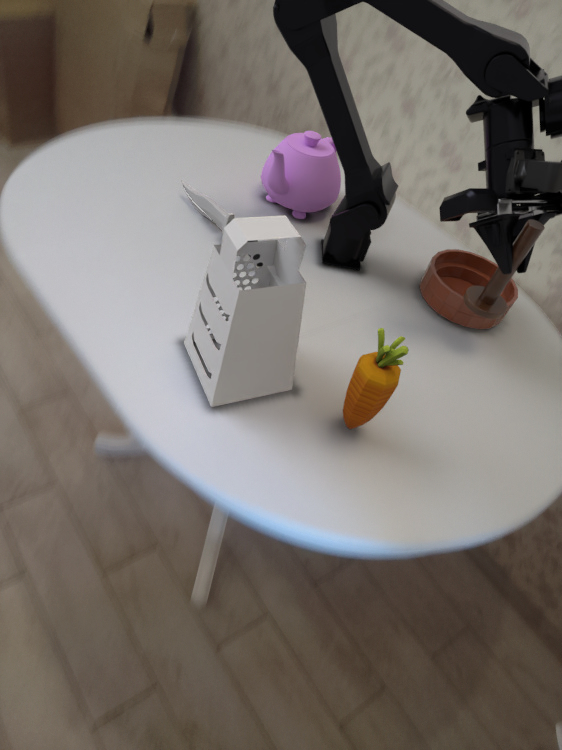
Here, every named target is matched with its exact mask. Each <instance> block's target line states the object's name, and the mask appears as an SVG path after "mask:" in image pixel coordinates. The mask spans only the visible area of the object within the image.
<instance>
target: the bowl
mask: <svg viewBox="0 0 562 750" xmlns="http://www.w3.org/2000/svg"><path fill="white" fill-rule="evenodd" d="M497 268H498V265H497V263H496V262H494V261H492V260H490V259H488V258H487V257H485V256H483V255H481V254H477V253H476V252H473V251H468V250H464V249H456V248H454V249H450V248H449V249H448V248H447V249H444V250H439V251H437V252H436V253H435V254H434V255H433V256H432V257H431V259H430V260H429V263H428V264H427V267H426V268H425V270H424V272H423V274H422V277H421V278H420V282H419V290H420V293H421V296H422V298H423V299H424V301H425V302H426V304H427V305H428V306H429V307H430V308H431V309H433V311H435V312H436V313H437V314H438V315H440V316H441V317H443V318H444V319H447V320H448V321H450V322H452V323H454V324H457V325H460V326H462V327H465V328H470V329H475V330H485V329H486V330H487V329H488V330H489V329H492V328H494V327H496V326H498V325H500V324H501V322H502V321H503V320H504V319H505V316H506V315H507V314H508V312H509V311H510V310H511V309H512V307H513V306H514V304H515V303H516V301H517V300H518V298H519V289H518V286H517V284H516V281H515V280H514V279H513V277H512V278H511V279H510V281H509V282H508V284H507V285H506V287H505V288H504V289H503V291H502V292H501V294H500V296H502V297H503V299H504V300H505V301H506V303H507V311H506V312H505V313H504V315H503V316H502V317H501V318H499V319H487V318H484V317H481V316H479V315H477V314H475V313H474V312H472V311H471V310H470V309H469V308H468V307H467V306H466V304H465V303H464V300H463V296H464V294H465V292H466V290H467V289H468V288H469V287H471V286H483V287H485V286H486V285H487V283H488V282H489V280H490V279H491V277H492V275H493V274H494V272H495V271H496V269H497Z"/></svg>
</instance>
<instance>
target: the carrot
mask: <svg viewBox="0 0 562 750" xmlns="http://www.w3.org/2000/svg"><path fill="white" fill-rule="evenodd" d="M385 335H386V333H385V328H384V327H380V328H378V329H377V337H378V338H377V351H373V352H369V353H364V354H362V355H361V356H359V358H358V361H357V362H356V365H355V367H354V370H353V372H352V375H351V377H350V380H349V383H348V386H347V389H346V392H345V397H344V400H343V407H342V418H343V421H344V424H345V427H346V428H347V429H350V430H353V429H356V428H359V427H362V426H364V425H365V424H367V423H369V422H370V421H371V420H372V419H374V418H375V417H376V416H377V415H378V414H379V413H380V412H381V411H382V410H383V409H384V407H385V406H386V405H387V403H388V401H389V400H390V398H391V397H392V395H393V394H394V392H395V391H396V389H397V388H398V386H399V382H400V377H401V372H402V369H401V367H400V366H404V360H402V359H401V358H403V357H405V356H406V355H408V353H409V348H408V346H407V345H401V344H402V343H403V342H404V341H405V340H406V337H405V336H402V335H400V336H398V337H397V338H396V339H394V341H393V342H392V343H391V344H390V345H389V344H386V345H385V339H386V337H385ZM400 345H401V346H400Z"/></svg>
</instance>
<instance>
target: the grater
mask: <svg viewBox="0 0 562 750" xmlns="http://www.w3.org/2000/svg"><path fill="white" fill-rule="evenodd" d="M278 239H286V241H285V246H284V247H283V246H282V244H281V243H280V241H279V240H278ZM252 240H258V241H256V242H247V241H252ZM306 248H307V243H306V242H305V241H304V238H303V237H302V236H301V235H300V233H299V232H298V230H297V229H296V228H295V226H294V225H293V223H292V222H291V220H290V219H289V218H288V217H287V215H268V216H251V217H248V216H247V217H246V216H245V217H235V218H234V219H233V220H232V221H231V222H230V223H228V224H227V225H226V226H225V227H224V231H223V234H222V238H221V243H219V244H213V246H212V248H211V249H212V250H211V253H210V255H209V259H208V262H207V266H206V268H205V269H206V270H205V273H204V275H203V278H202V283H201V284H200V285H201V286H200V290H199V292H198V295H197V297H196V298H197V299H196V302H195V305H194V308H193V312H192V316H191V319H190V321H189V325H188V329H187V332H186V335H185V338H184V341H183V345H184V347H185V349H186V351H187V354H188V356H189V358H190V361H191V363H192V366H193V368H194V371H195V372H196V375H197V378H198V379H199V382H200V384H201V387H202V390H203V392H204V395H205V396H206V398H207V401H208V403H209V406H210V407H211V408H214V407H218V406H219V407H220V406H223V405H228V404H233V403H238V402H242V401H247V400H251V399H256V398H260V397H265V396H269V395H274V394H280V393H284V392H288V391H292V390H293V384H294V377H295V370H296V363H297V356H298V355H297V354H298V347H299V340H300V334H301V333H300V332H301V326H302V318H303V311H304V303H305V296H306V289H307V281H306V280H305V278H304V277H303V275H302V273H301V272H300V269H301V266H302V262H303V258H304V255H305V252H306ZM256 254H259V255H260V258H259V259H258V260H254V259H253V256H254V255H256ZM249 255H250V256H251V257H250V256H249ZM246 256H249V257H250V258H249V259H248V260H245V259H244V258H245V257H246ZM237 257H240V259H239V260H238V261H237ZM260 262H262V263H263V266H261V267H258V266H257V264H258V263H260ZM250 264H253V266H252V267H251V268H247V267H248V265H250ZM240 265H243V268H242V269H238V267H239V266H240ZM252 272H255V273H254V274H253V275H249V274H250V273H252ZM242 273H245V275H244V276H240V274H242ZM234 274H236V276H234ZM254 279H257V280H258V281H257V282H255V283H253V282H252V281H253V280H254ZM246 280H248V283H246V284H244V283H243V282H244V281H246ZM236 281H239V284H237V283H236ZM247 287H250V288H249V289H246V288H247ZM239 288H241V290H239ZM214 298H216V299H217V300H216V301H215V299H214ZM217 304H218V305H220V306H218V305H217ZM221 311H223V313H221ZM224 317H225V318H224ZM207 326H208V327H209V328H208V327H207ZM209 332H211V333H209ZM213 339H214V340H215V342H216V343H217V344H220V346H219V349H218V348H217V347H216V345H215V343H214V341H213ZM194 342H195V345H196V347H197V349H198V351H197V349H196V347H195V345H194ZM198 352H199V354H200V356H201V358H202V360H203V363H204V365H205V367H206V369H207V371H208V373H210V374H211V377H209V376H208V374H207V372H206V370H205V367H204V365H203V363H202V361H201V359H200V356H199V354H198Z"/></svg>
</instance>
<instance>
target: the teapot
mask: <svg viewBox="0 0 562 750" xmlns="http://www.w3.org/2000/svg"><path fill="white" fill-rule="evenodd" d="M338 159H339V158H338V155H337V151H336V148H335V145H334V143H333V140H332V137H331V136H327V137H324V138H322V135H321V134H320V133H318V132H317V131H313V130H305V131H304V132H294V133H290V134H288V135H287V136H285V137H284V138H283V139H282V140H281V141H280V142H279V143H278V145H276V146H275V147H274V148H273V149H271V152H270V153H269V155H268V156H267V157H266V160H265V162H264V164H263V167H262V169H261V174H260V179H261V184H262V186H263V188H264V190H265V192H266V193H267V195H266V196H265V198H266V201H268V202H270V203H274V204H276V203H277V204H279V205H280V206H282V207H284V208H286V209H288V210H292V212H291V215H292V217H294V218H295V219H299V220H305V219H306V218H307V213H315V212H320V211H322V210H325V209H327V208H328V207H330V206H331V205H333V204H334V203H336V201H337V200H338V199H339V196H340V191H341V186H342V175H341V167H340V164H339V160H338Z"/></svg>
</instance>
